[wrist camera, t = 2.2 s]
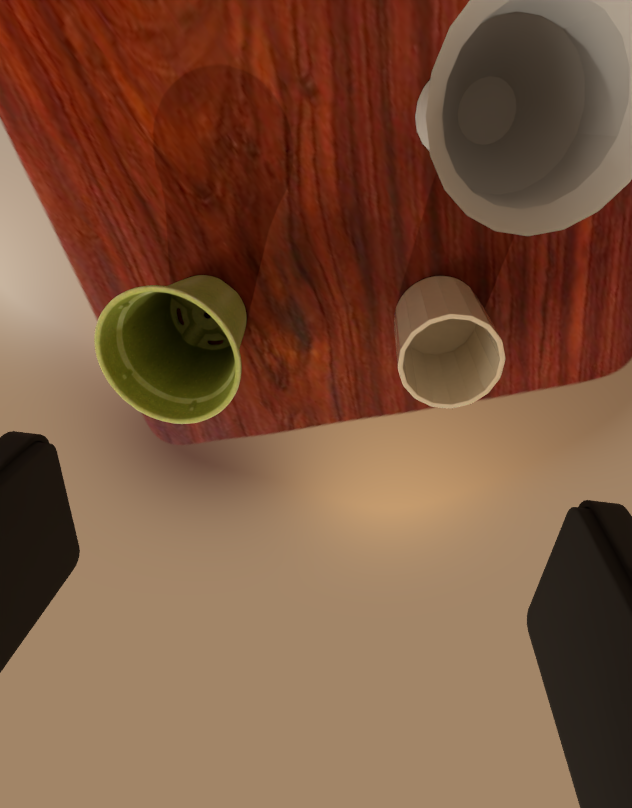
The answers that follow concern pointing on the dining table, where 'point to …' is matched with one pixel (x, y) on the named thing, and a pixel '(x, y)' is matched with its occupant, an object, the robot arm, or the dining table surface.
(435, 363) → the paper cup
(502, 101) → the chalice
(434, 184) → the dining table surface
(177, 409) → the plant pot
